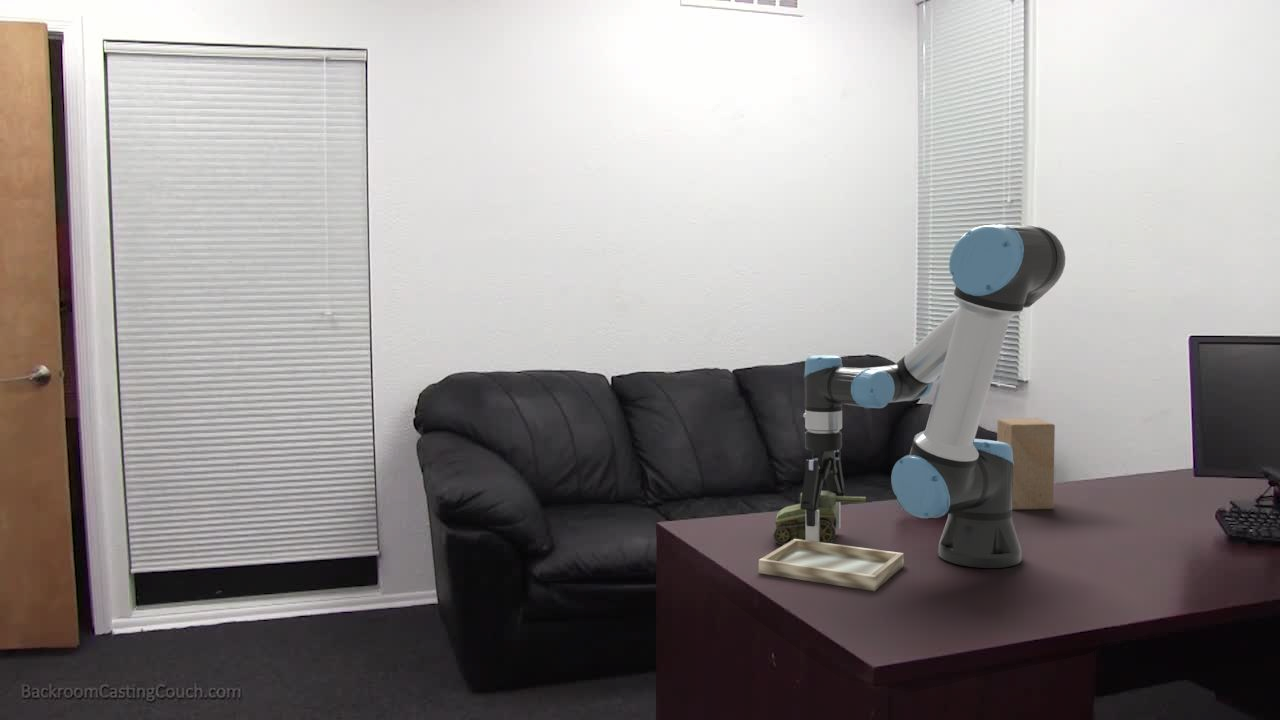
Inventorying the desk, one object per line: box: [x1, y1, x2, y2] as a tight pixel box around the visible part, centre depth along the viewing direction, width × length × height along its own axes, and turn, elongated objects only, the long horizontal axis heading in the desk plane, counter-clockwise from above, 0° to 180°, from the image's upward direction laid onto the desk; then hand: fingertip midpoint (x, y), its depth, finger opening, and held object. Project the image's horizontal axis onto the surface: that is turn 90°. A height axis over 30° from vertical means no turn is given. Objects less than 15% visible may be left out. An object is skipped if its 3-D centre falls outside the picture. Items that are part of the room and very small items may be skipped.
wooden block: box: [996, 417, 1056, 511], centre depth 233 cm, size 10×10×20 cm
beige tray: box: [758, 539, 905, 592], centre depth 185 cm, size 22×17×2 cm
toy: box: [773, 490, 867, 546], centre depth 205 cm, size 10×18×10 cm, turn 78°
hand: (823, 534), depth 205 cm, fingers closed on toy, 11 cm apart
